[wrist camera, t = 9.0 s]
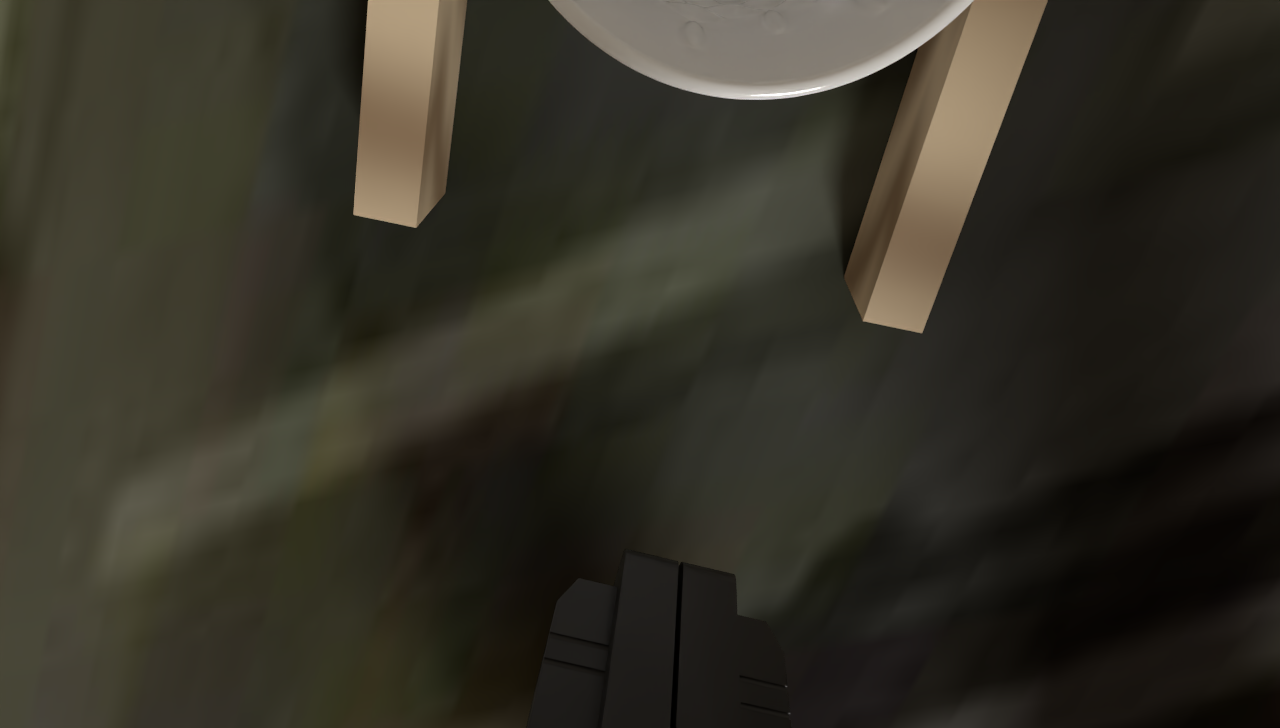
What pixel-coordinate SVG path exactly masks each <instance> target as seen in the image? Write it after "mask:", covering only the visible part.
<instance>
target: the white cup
mask: <svg viewBox="0 0 1280 728" xmlns="http://www.w3.org/2000/svg"><path fill="white" fill-rule="evenodd" d="M973 1H974V0H549V2H550V3H551V4H552V5H553V6H554V7H555V8H556V10H557V11H558V12H559V13H560V14H561V15H562V16H563V17H564V18H565V19H566V20H567V21H568V22H569V23H570V24H571V25H572V26H573V27H574V28H575V29H577V30H578V31H579V32H580V33H581V34H582V35H583V36H585V37H586V38H587V39H588V40H589V41H591V42H592V43H593V44H595V45H596V46H597V47H599V48H600V49H601V50H603V51H604V52H606V53H607V54H608V55H610V56H611V57H613V58H615V59H616V60H618V61H619V62H621V63H623V64H624V65H626V66H628V67H630V68H632V69H634V70H635V71H637V72H639V73H641V74H643V75H646V76H648V77H650V78H652V79H655V80H657V81H660V82H662V83H665V84H668V85H670V86H673V87H676V88H680V89H683V90H687V91H690V92H694V93H698V94H703V95H708V96H714V97H721V98H729V99H742V100H769V99H782V98H791V97H798V96H803V95H808V94H813V93H818V92H822V91H826V90H829V89H833V88H836V87H839V86H842V85H845V84H848V83H851V82H853V81H856V80H859V79H861V78H863V77H866V76H868V75H870V74H873V73H875V72H877V71H879V70H881V69H883V68H885V67H887V66H889V65H890V64H892V63H894V62H896V61H898V60H899V59H901V58H903V57H904V56H906V55H908V54H909V53H911V52H912V51H914V50H915V49H917V48H918V47H920V46H921V45H923V44H924V43H925V42H927V41H928V40H930V39H931V38H932V37H934V36H935V35H936V34H937V33H939V32H940V31H941V30H942V29H944V28H945V27H946V26H947V25H948V24H950V23H951V22H952V21H953V20H954V19H955V18H956V17H958V16H959V15H960V14H961V13H962V12H963V11H964V10H965V9H966V8H967V7H968V6H969V5H970V4H971V3H972V2H973Z"/></svg>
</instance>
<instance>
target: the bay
mask: <svg viewBox="0 0 1280 728" xmlns="http://www.w3.org/2000/svg"><path fill="white" fill-rule="evenodd" d="M1047 1H1048V0H974V1H973V2H972V3H971V4H970V5H969V6H968V7H967V8H966V9H965V10H964V11H963V12H962V13H961V14H960V15H959V16H958V17H956V18H955V19H954V20H953V21H952V22H951V23H950V24H948V25H947V26H946V27H945V28H944V29H942V30H941V31H940V32H939V33H937V34H936V35H935V36H934V37H932V38H931V39H930V40H928V41H927V42H925V43H924V44H923V45H921V46H920V47H919V48H918V51H917V54H916V57H915V60H914V63H913V66H912V69H911V72H910V75H909V79H908V82H907V85H906V88H905V91H904V94H903V97H902V100H901V103H900V106H899V109H898V112H897V115H896V118H895V121H894V125H893V128H892V131H891V134H890V137H889V140H888V143H887V146H886V149H885V152H884V155H883V158H882V161H881V164H880V168H879V171H878V174H877V177H876V180H875V183H874V186H873V189H872V192H871V195H870V198H869V201H868V204H867V207H866V211H865V214H864V217H863V220H862V223H861V226H860V229H859V232H858V235H857V238H856V241H855V244H854V247H853V250H852V254H851V257H850V260H849V263H848V266H847V269H846V272H845V275H844V279H845V281H846V283H847V286H848V288H849V290H850V292H851V295H852V297H853V299H854V302H855V304H856V306H857V308H858V311H859V313H860V315H861V318H862V320H863V321H865V322H870V323H875V324H880V325H885V326H889V327H894V328H899V329H904V330H909V331H913V332H918V333H922V332H923V330H924V327H925V324H926V322H927V319H928V316H929V314H930V311H931V309H932V306H933V303H934V301H935V298H936V295H937V293H938V290H939V287H940V285H941V282H942V279H943V277H944V274H945V271H946V269H947V266H948V263H949V261H950V258H951V256H952V253H953V250H954V248H955V245H956V242H957V240H958V237H959V234H960V232H961V229H962V226H963V224H964V221H965V218H966V216H967V213H968V211H969V208H970V205H971V203H972V200H973V197H974V195H975V192H976V189H977V187H978V184H979V181H980V179H981V176H982V173H983V171H984V168H985V165H986V163H987V160H988V158H989V155H990V152H991V150H992V147H993V144H994V142H995V139H996V136H997V134H998V131H999V128H1000V126H1001V123H1002V120H1003V118H1004V115H1005V112H1006V110H1007V107H1008V105H1009V102H1010V99H1011V97H1012V94H1013V91H1014V89H1015V86H1016V83H1017V81H1018V78H1019V75H1020V73H1021V70H1022V67H1023V65H1024V62H1025V59H1026V57H1027V54H1028V52H1029V49H1030V46H1031V44H1032V41H1033V38H1034V36H1035V33H1036V30H1037V28H1038V25H1039V22H1040V20H1041V17H1042V14H1043V12H1044V9H1045V6H1046V4H1047ZM466 6H467V0H368V10H367V24H366V39H365V53H364V68H363V82H362V97H361V112H360V126H359V141H358V155H357V170H356V184H355V199H354V213H353V215H357V216H362V217H367V218H372V219H376V220H381V221H386V222H391V223H396V224H400V225H405V226H410V227H415V228H416V227H417V226H418V225H419V224H420V223H421V221H422V220H423V219H424V218H425V217H426V215H427V214H428V213H429V212H430V211H431V210H432V208H433V207H434V206H435V205H436V204H437V202H438V201H439V200H440V199H441V198H442V196H443V195H444V194H445V191H446V182H447V173H448V165H449V156H450V147H451V138H452V130H453V121H454V112H455V103H456V94H457V86H458V77H459V68H460V59H461V50H462V42H463V33H464V24H465V15H466Z"/></svg>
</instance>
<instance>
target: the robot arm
mask: <svg viewBox="0 0 1280 728" xmlns="http://www.w3.org/2000/svg"><path fill="white" fill-rule="evenodd" d="M786 690H787V677H786V667H785V657H784V652H783V651H782V649H781V647H780V645H779V644H778V642H777V640H776V638H775V637H774V635H773V633H772V631H771V629H770V628H769V626H768V624H767V622H765V621H761V620H757V619H752V618H748V617H744V616H740V615H737V592H736V578H735V575H734V574H731V573H727V572H722V571H718V570H714V569H710V568H705V567H701V566H697V565H693V564H688V563H684V562H681V563H680V565H679V567H678V561H675V560H670V559H666V558H662V557H658V556H653V555H649V554H645V553H641V552H636V551H632V550H628V549H625V550H624V553H623V556H622V559H621V562H620V566H619V569H618V573H617V576H616V580H615V583H614V586H610V585H606V584H602V583H597V582H593V581H589V580H585V579H580V578H578V579H577V580H576V581H575V582H574V584H573V585H572V586H571V587H570V588H569V589H568V590H567V591H566V592H565V593H564V594H563V595H562V596H561V597H560V598H559V599H558V600H557V603H556V607H555V611H554V615H553V619H552V623H551V627H550V631H549V635H548V639H547V643H546V647H545V651H544V655H543V659H542V663H541V667H540V671H539V675H538V679H537V683H536V687H535V692H534V696H533V700H532V704H531V709H530V713H529V717H528V722H527V726H526V728H791V720H789V715H790V708H789V698H788V693H787V692H786Z"/></svg>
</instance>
